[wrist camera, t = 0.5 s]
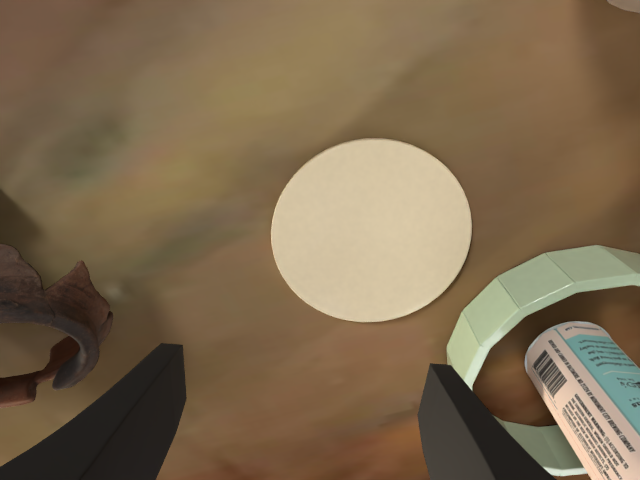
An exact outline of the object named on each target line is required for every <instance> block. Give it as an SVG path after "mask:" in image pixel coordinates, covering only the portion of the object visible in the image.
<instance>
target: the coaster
mask: <svg viewBox="0 0 640 480" xmlns="http://www.w3.org/2000/svg"><path fill="white" fill-rule="evenodd" d="M471 236H472V220H471V211H470V207H469V204H468V200H467V198H466V195H465V193H464V191H463V188H462V187H461V185H460V184H459V182H458V180H457V179H456V177H455V176H454V175H453V174H452V173H451V171H450V170H449V169H448V168H447V167H446V166H445V165H444V164H443V163H442V162H440V161H439V160H438V159H437V158H436V157H434V156H433V155H431V154H430V153H428V152H426V151H425V150H423V149H421V148H418V147H416V146H414V145H412V144H409V143H405V142H402V141H398V140H392V139H385V138H366V139H357V140H352V141H348V142H344V143H341V144H338V145H336V146H333V147H331V148H328V149H326V150H325V151H323V152H321V153H319V154H317V155H316V156H314V157H313V158H312V159H310V160H309V161H308V162H306V163H305V164H304V165H303V166H302V167H301V168H300V169H299V170H298V171H297V172H296V173H295V174H294V175H293V176H292V178H291V179H290V180H289V182H288V183H287V184H286V186H285V188H284V190H283V191H282V193H281V195H280V197H279V200H278V202H277V205H276V207H275V211H274V215H273V219H272V228H271V243H272V249H273V254H274V258H275V261H276V264H277V266H278V268H279V270H280V272H281V275H282V276H283V278H284V279H285V281H286V282H287V284H288V285H289V286H290V288H291V289H292V290H293V291H294V292H295V293H296V294H297V295H298V296H299V297H300V298H301V299H302V300H304V301H305V302H306V303H308V304H309V305H311V306H312V307H314V308H315V309H317V310H319V311H321V312H323V313H325V314H328V315H330V316H333V317H336V318H340V319H344V320H349V321H356V322H378V321H386V320H391V319H395V318H399V317H402V316H405V315H408V314H410V313H412V312H415V311H417V310H419V309H420V308H422V307H424V306H426V305H427V304H429V303H430V302H432V301H433V300H434V299H436V298H437V297H438V296H439V295H440V294H441V293H442V292H444V291H445V290H446V289H447V287H448V286H449V285H450V284H451V283H452V282H453V280H454V279H455V277H456V276H457V274H458V273H459V271H460V270H461V268H462V266H463V264H464V261H465V259H466V256H467V253H468V250H469V247H470V241H471Z"/></svg>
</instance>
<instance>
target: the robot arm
mask: <svg viewBox="0 0 640 480" xmlns="http://www.w3.org/2000/svg"><path fill="white" fill-rule="evenodd" d="M185 401H186V385H185V371H184V357H183V345H177V344H164V343H161V344H160V345H159V346H158V347H156V348H155V349H154V350H153V351H152V352H151V353H150V354H149V355H148V356H146V357H145V358H144V359H143V360H142V361H141V362H140V363H139V364H138V365H137V366H135V367H134V368H133V369H132V370H131V371H130V372H129V373H128V374H127V375H125V376H124V377H123V378H122V379H121V380H120V381H119V382H117V383H116V384H115V385H114V386H113V387H112V388H110V389H109V390H108V391H107V392H106V393H105V394H103V395H102V396H101V397H100V398H99V399H97V400H96V401H95V402H94V403H92V404H91V405H90V406H88V407H87V408H86V409H85V410H83V411H82V412H81V413H80V414H78V415H77V416H76V417H75V418H73V419H72V420H71V421H69V422H68V423H67V424H65V425H64V426H62V427H61V428H60V429H58V430H57V431H56V432H54V433H53V434H51V435H50V436H48V437H47V438H45V439H44V440H42V441H41V442H39V443H38V444H37V445H35V446H33V447H32V448H30V449H29V450H27V451H26V452H24V453H22V454H21V455H19V456H17V457H16V458H14V459H12V460H11V461H9V462H8V463H6V464H4V465H3V466H1V467H0V480H156V478H157V475H158V473H159V471H160V468H161V466H162V464H163V462H164V459H165V457H166V455H167V452H168V450H169V448H170V445H171V443H172V441H173V438H174V436H175V434H176V431H177V428H178V425H179V421H180V418H181V415H182V412H183V408H184V405H185ZM418 421H419V428H420V436H421V442H422V448H423V453H424V457H425V461H426V464H427V468H428V472H429V476H430V480H556V479H555V478H554V477H553V476H552V475H551V474H550V473H549V472H547V471H546V470H545V469H544V468H543V467H542V466H541V465H540V464H539V463H538V462H537V461H536V460H535V459H534V458H533V457H532V456H531V455H530V454H529V453H528V452H527V451H526V450H525V449H524V448H523V447H522V446H521V445H520V444H519V443H518V442H517V441H516V440H515V439H514V438H513V437H512V436H511V435H510V434H509V433H508V432H507V431H506V429H505V428H504V427H503V426H502V425H501V424H500V423H499V422H498V421H497V419H496V418H495V417H494V416H493V415H492V414H491V413H490V411H489V410H488V409H487V408H486V407H485V406H484V404H483V403H482V402H481V401H480V400H479V398H478V397H477V396H476V395H475V394H474V392H473V391H472V390H471V389H470V388H469V386H468V385H467V384H466V383H465V381H464V380H463V379H462V378H461V377H460V375H459V374H458V373H457V372H456V371H455V369H454V368H453V367H452V366H451V365H444V364H431V363H430V366H429V370H428V374H427V378H426V383H425V387H424V391H423V395H422V399H421V403H420V407H419V412H418Z"/></svg>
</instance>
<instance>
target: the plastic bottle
mask: <svg viewBox="0 0 640 480" xmlns="http://www.w3.org/2000/svg"><path fill="white" fill-rule="evenodd" d="M606 1H607V2H608V3H610V4H612V5H614V6H616V7H618V8H620V9H622V10H626V11H631V12H636V13H640V0H606Z"/></svg>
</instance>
